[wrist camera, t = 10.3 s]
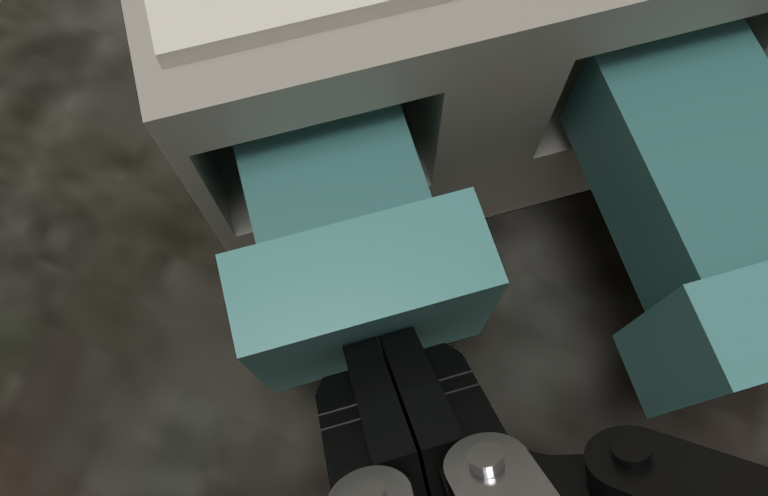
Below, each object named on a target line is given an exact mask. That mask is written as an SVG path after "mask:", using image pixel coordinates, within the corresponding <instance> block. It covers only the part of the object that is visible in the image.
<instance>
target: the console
mask: <svg viewBox="0 0 768 496" xmlns="http://www.w3.org/2000/svg"><path fill="white" fill-rule="evenodd" d="M121 4H122V10H123V15H124V21H125V26H126V32H127V37H128V43H129V48H130V54H131V59H132V65H133V70H134V76H135V82H136V87H137V93H138V98H139V104H140V109H141V115H142V120H143V124H144V125H145V127H146V128H147V130H148V131H149V133H150V134H151V136H152V137H153V139H154V141H155V142H156V144H157V145H158V147H159V148H160V150H161V151H162V153H163V154H164V156H165V157H166V159H167V161H168V162H169V164H170V165H171V167H172V168H173V170H174V171H175V173H176V174H177V176H178V177H179V179H180V181H181V182H182V184H183V185H184V187H185V188H186V190H187V191H188V193H189V194H190V196H191V197H192V199H193V201H194V202H195V204H196V205H197V207H198V208H199V210H200V211H201V213H202V214H203V216H204V218H205V219H206V221H207V222H208V224H209V225H210V227H211V228H212V230H213V231H214V233H215V234H216V236H217V238H218V239H219V241H220V242H221V244H222V245H223V247H224V248H225V250H226V251H231V250H235V249H239V248H243V247H246V246H250V245H254V244H256V243H255V238H254V234H253V230H252V226H251V221H250V217H249V213H248V208H247V204H246V200H245V196H244V191H243V187H242V183H241V178H240V174H239V170H238V166H237V161H236V157H235V153H234V148H233V145H236V144H240V143H244V142H248V141H252V140H256V139H260V138H264V137H268V136H272V135H276V134H280V133H284V132H288V131H292V130H296V129H300V128H304V127H308V126H312V125H316V124H320V123H324V122H328V121H333V120H337V119H341V118H345V117H349V116H353V115H357V114H361V113H365V112H369V111H373V110H377V109H381V108H385V107H389V106H393V105H397V104H400V105H401V108H402V111H403V114H404V117H405V120H406V123H407V125H408V128H409V131H410V134H411V137H412V140H413V143H414V146H415V149H416V152H417V155H418V157H419V160H420V163H421V166H422V169H423V172H424V175H425V178H426V181H427V184H428V186H429V189H430V192H431V195H432V197H436V196H440V195H444V194H447V193H451V192H455V191H459V190H463V189H466V188H470V187H474V190H475V192H476V195H477V198H478V201H479V203H480V206H481V209H482V211H483V214H484V217H485V218H487V217H491V216H494V215H498V214H502V213H505V212H509V211H513V210H517V209H520V208H524V207H528V206H531V205H535V204H539V203H543V202H546V201H550V200H554V199H558V198H561V197H565V196H569V195H572V194H576V193H580V192H584V191H587V190H591V189H590V186H589V184H588V182H587V180H586V177H585V175H584V173H583V171H582V168H581V166H580V164H579V161H578V159H577V157H576V155H575V152H574V150H573V148H572V146H571V143H570V141H569V139H568V136H567V134H566V132H565V130H564V127H563V125H562V123H561V121H560V116H561V114H562V112H563V110H564V107H565V105H566V103H567V101H568V99H569V96H570V94H571V92H572V90H573V88H574V85H575V83H576V81H577V79H578V77H579V74H580V72H581V70H582V68H583V66H584V63H585V61H586V59H587V57H590V56H594V55H598V54H602V53H606V52H610V51H614V50H618V49H622V48H626V47H630V46H634V45H638V44H642V43H646V42H650V41H655V40H659V39H663V38H667V37H671V36H675V35H679V34H683V33H687V32H691V31H695V30H699V29H703V28H707V27H711V26H715V25H719V24H723V23H727V22H731V21H735V20H739V19H743V18H744V19H745V20H746V22H747V24H748V26H749V27H750V29H751V31H752V32H753V34H754V36H755V37H756V39H757V41H758V42H759V44H760V46H761V48H762V49H763V51H764V53H765V54H766V56H767V58H768V0H455V1H451V2H447V3H442V4H438V5H434V6H430V7H425V8H421V9H417V10H413V11H408V12H404V13H400V14H395V15H391V16H387V17H383V18H378V19H374V20H370V21H366V22H361V23H357V24H353V25H349V26H344V27H340V28H336V29H332V30H327V31H323V32H319V33H315V34H310V35H306V36H302V37H298V38H293V39H289V40H285V41H281V42H276V43H272V44H268V45H264V46H259V47H255V48H251V49H247V50H242V51H238V52H234V53H230V54H225V55H221V56H217V57H213V58H208V59H204V60H200V61H196V62H191V63H187V64H183V65H179V66H174V67H170V68H166V69H162V68H161V66H160V64H159V62H158V60H157V58H156V56H155V53H154V47H153V42H152V37H151V32H150V27H149V22H148V17H147V12H146V7H145V2H144V0H121Z"/></svg>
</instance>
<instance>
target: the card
mask: <svg viewBox="0 0 768 496" xmlns="http://www.w3.org/2000/svg"><path fill="white" fill-rule="evenodd" d="M451 1H455V0H144V2H145V7H146V12H147V17H148V22H149V27H150V32H151V37H152V42H153V47H154V53H155V56H156V58H157V60H158V62H159V64H160V66H161V68H162V69H166V68H170V67H174V66H179V65H183V64H187V63H191V62H196V61H200V60H204V59H208V58H213V57H217V56H221V55H225V54H230V53H234V52H238V51H242V50H247V49H251V48H255V47H259V46H264V45H268V44H272V43H276V42H281V41H285V40H289V39H293V38H298V37H302V36H306V35H310V34H315V33H319V32H323V31H327V30H332V29H336V28H340V27H344V26H349V25H353V24H357V23H361V22H366V21H370V20H374V19H378V18H383V17H387V16H391V15H395V14H400V13H404V12H408V11H413V10H417V9H421V8H425V7H430V6H434V5H438V4H442V3H447V2H451Z"/></svg>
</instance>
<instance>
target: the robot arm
mask: <svg viewBox="0 0 768 496" xmlns="http://www.w3.org/2000/svg"><path fill="white" fill-rule="evenodd" d="M379 341H380V346H381V349H380V346H379V343H378V340H377V338H376V337H373V338H370V339H366V340H363V341H359V342H355V343H352V344H348V345H345V346H342V348H343V352H344V356H345V360H346V364H347V368H348V370H347V371H344V372H340V373H337V374H333V375H330V376H326V377H323V378H322V381H321V383H320V386H319V388H318V390H317V393H316V395H315V397H316V403H317V409H318V414H319V421H320V427H321V431H322V432H321V433H322V439H323V445H324V451H325V458H326V464H327V470H328V476H329V482H330V493H329V495H328V496H768V467H766V466H763V465H760V464H757V463H754V462H751V461H747V460H744V459H741V458H738V457H735V456H732V455H729V454H726V453H723V452H720V451H716V450H713V449H710V448H707V447H704V446H701V445H698V444H695V443H692V442H688V441H685V440H682V439H679V438H676V437H673V436H670V435H667V434H664V433H660V432H657V431H654V430H651V429H648V428H644V427H639V426H627V425H625V426H616V427H611V428H608V429H605V430H603V431H601V432H599V433H597V434H596V435H594V436H593V437H592V438H591V439H590V440H589V441H588V443H587V445H586V447H585V451H584V454H578V455H545V454H539V453H535V452H532V451H529V450H527V449H526V447H525V446H524V445H523V444H522V443H521V442H520V441H518V440H517V439H515V438H513V437H511V436H509V435H508V434H507V433H506V431H505V430H504V428H503V426H502V424H501V422H500V421H499V419H498V417H497V415H496V413H495V412H494V410H493V408H492V406H491V405H490V403H489V401H488V399H487V397H486V396H485V394H484V392H483V390H482V389H481V387H480V385H479V384H478V381H477V380H476V378H475V376H474V374H473V373H472V372H471V369H470V367H469V365H468V364H467V362H466V360H465V358H464V357H463V355H462V353H460V352H458V351H457V350H455V349H454V348H452V347H450V346H449V345H447V344H446V343H442V344H438V345H435V346H431V347H428V348H423V346H422V344H421V342H420V340H419V338H418V336H417V334H416V331H415V329H414V328H413V326H412V327H408V328H405V329H401V330H398V331H394V332H391V333H387V334H383V335H380V336H379ZM381 350H382V352H381Z"/></svg>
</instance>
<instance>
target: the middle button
mask: <svg viewBox="0 0 768 496" xmlns="http://www.w3.org/2000/svg"><path fill="white" fill-rule="evenodd" d="M560 121H561V123H562V125H563V127H564V130H565V132H566V134H567V136H568V139H569V141H570V143H571V146H572V148H573V150H574V152H575V155H576V157H577V159H578V161H579V164H580V166H581V168H582V171H583V173H584V175H585V177H586V180H587V182H588V184H589V186H590V189H591V191H592V193H593V196H594V198H595V200H596V202H597V205H598V207H599V209H600V211H601V214H602V216H603V218H604V221H605V223H606V225H607V227H608V230H609V232H610V234H611V236H612V239H613V241H614V243H615V246H616V248H617V250H618V252H619V255H620V257H621V259H622V261H623V264H624V266H625V268H626V271H627V273H628V275H629V277H630V280H631V282H632V284H633V286H634V289H635V291H636V293H637V296H638V298H639V300H640V302H641V305H642V307H643V309H644V311H645V312H644V313H643V314H642V315H640V316H639V317H637V318H636V319H635V320H633V321H632V322H631V323H629V324H628V325H626V326H625V327H624V328H622V329H621V330H619V331H618V332H617V333H615V334H614V335H612V336H613V339H614V341H615V344H616V346H617V348H618V351H619V353H620V356H621V358H622V360H623V363H624V365H625V368H626V370H627V372H628V375H629V377H630V380H631V382H632V384H633V387H634V389H635V392H636V394H637V396H638V399H639V401H640V404H641V406H642V408H643V411H644V413H645V416H646V418H647V419H649V418H652V417H655V416H659V415H662V414H665V413H668V412H672V411H675V410H678V409H682V408H685V407H688V406H691V405H695V404H698V403H701V402H705V401H708V400H711V399H714V398H718V397H721V396H724V395H728V394H731V393H734V392H737V391H741V390H744V389H747V388H750V387H754V386H757V385H760V384H763V383H767V382H768V58H767V56H766V54H765V53H764V51H763V49H762V48H761V46H760V44H759V42H758V41H757V39H756V37H755V36H754V34H753V32H752V31H751V29H750V27H749V26H748V24H747V22H746V20H745V19H744V18H743V19H739V20H735V21H731V22H727V23H723V24H719V25H715V26H711V27H707V28H703V29H699V30H695V31H691V32H687V33H683V34H679V35H675V36H671V37H667V38H663V39H659V40H655V41H650V42H646V43H642V44H638V45H634V46H630V47H626V48H622V49H618V50H614V51H610V52H606V53H602V54H598V55H594V56H590V57H587V59H586V61H585V63H584V66H583V68H582V70H581V72H580V74H579V77H578V79H577V81H576V83H575V85H574V88H573V90H572V92H571V94H570V96H569V99H568V101H567V103H566V105H565V107H564V110H563V112H562V114H561V116H560Z"/></svg>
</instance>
